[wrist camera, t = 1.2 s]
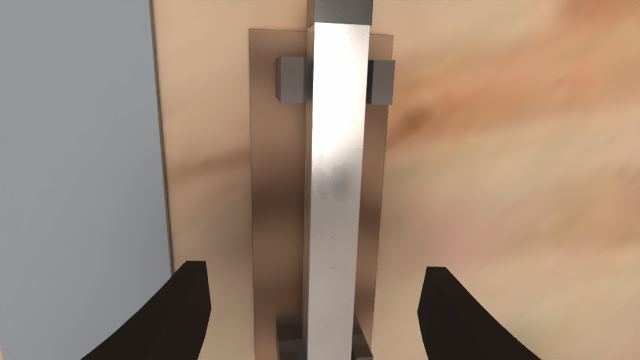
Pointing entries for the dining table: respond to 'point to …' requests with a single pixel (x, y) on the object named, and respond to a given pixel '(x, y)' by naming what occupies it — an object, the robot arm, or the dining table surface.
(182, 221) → the dining table surface
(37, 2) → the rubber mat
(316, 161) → the steel rail
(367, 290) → the wooden stand
